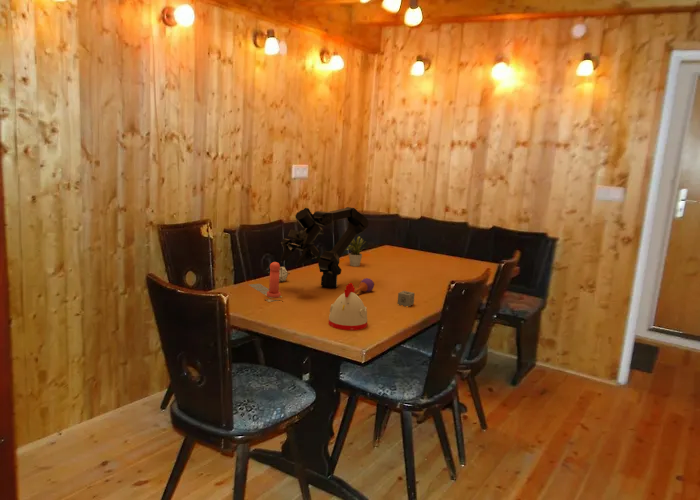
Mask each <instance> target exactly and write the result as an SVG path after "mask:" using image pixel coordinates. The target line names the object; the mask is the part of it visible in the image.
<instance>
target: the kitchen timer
mask: <svg viewBox="0 0 700 500" xmlns="http://www.w3.org/2000/svg"><path fill="white" fill-rule="evenodd" d="M355 289H356V287H354V285H353V282H349V283H348V284H347V285H345V289H343V290H344V292H343V293H342V294H340V295H339V296H338V297H337V298H336V300H334V302H333V303H331V304H330V308H329V316H328V325H329V326H330V327H332V328H335V329H338V330H344V331H357V330H364V329H366V328H367V326H368V310H367V309H368V308H367V306H365V304H364V301H363V300H362V299H361V298H360V297H359V296H358V294H357V293H356V294H355V293H354V290H355Z"/></svg>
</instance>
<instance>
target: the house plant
mask: <svg viewBox="0 0 700 500" xmlns="http://www.w3.org/2000/svg"><path fill="white" fill-rule="evenodd" d="M366 242H367V241H364V240H363V238H361V236H359V235H358V236H357V238H356V240H355V238H354V239H353V240H352V242H351V243H350V244H349V246H348V247H347V248H346V251H348V250H350V252H349V253H348V258H349V266H351V267H361V266H360V265H361V262H362V257H363V254H362V253H360V252H362V250H363V249H365V248H366V249H367V248H368V247H363V248H361V247H362V246H363V245H364V244H365V243H366Z"/></svg>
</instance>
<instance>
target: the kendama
mask: <svg viewBox="0 0 700 500" xmlns="http://www.w3.org/2000/svg"><path fill="white" fill-rule="evenodd" d="M374 285H375V284H374V281H373V279H371V278H367V277H366V278H363V279H361V281H360V283H359V285H358V287H357V288H355V290H354V293H355V294H356V295H357V293H359V292H360V291H361V292H365V293H369V292H371V291H372V290H373V289H374Z"/></svg>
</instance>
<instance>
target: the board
mask: <svg viewBox="0 0 700 500" xmlns="http://www.w3.org/2000/svg"><path fill="white" fill-rule="evenodd" d="M248 286H249V287H251V288H253V289H254V290H256V291H257V292H259V293H261V294H263V295H265V296H266V297H268V296H267V292H268V291H269V288H268V287H266V286H264V285H263V284H262V283H251V284H248ZM268 298H270V299H266V298H264V300H265V301H266V302H268V303H269V302H271V303H273V302H279V301H283V300H280V299H272V298H271V297H268ZM279 298H283V296H282V295H281V296H280V297H279Z"/></svg>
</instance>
